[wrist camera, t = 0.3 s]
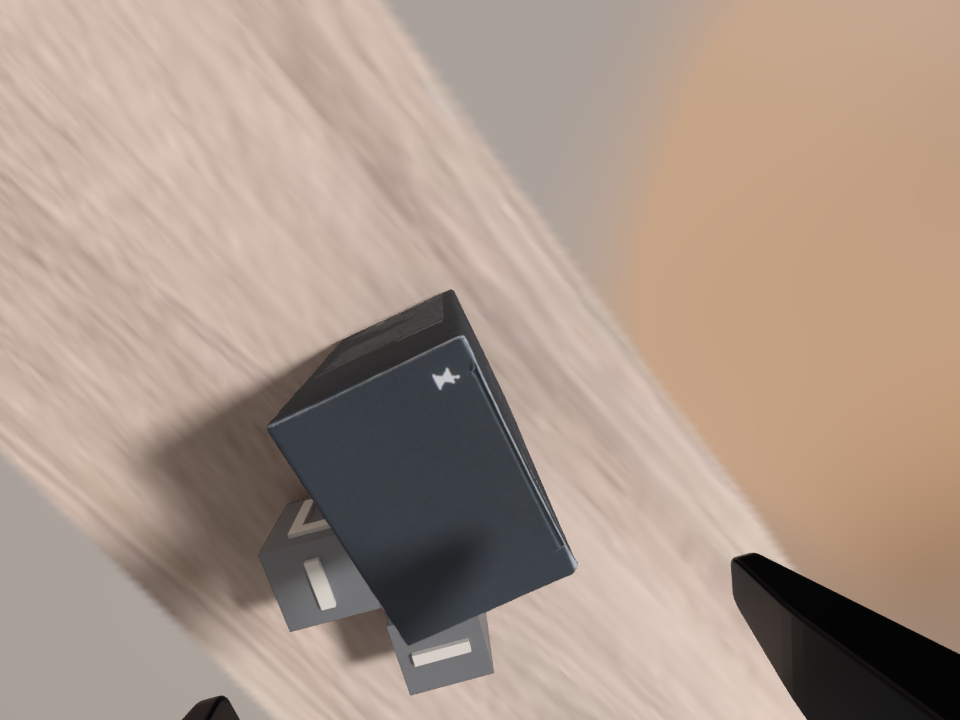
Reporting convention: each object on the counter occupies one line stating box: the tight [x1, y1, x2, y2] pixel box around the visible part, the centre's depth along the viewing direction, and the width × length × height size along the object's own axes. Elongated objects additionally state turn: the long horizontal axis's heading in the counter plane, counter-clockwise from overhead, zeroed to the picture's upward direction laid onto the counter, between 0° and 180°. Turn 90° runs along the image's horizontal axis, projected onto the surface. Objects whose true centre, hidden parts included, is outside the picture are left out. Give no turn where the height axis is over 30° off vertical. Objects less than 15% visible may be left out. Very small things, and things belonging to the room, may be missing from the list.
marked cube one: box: [386, 612, 494, 696], centre depth 24 cm, size 4×4×4 cm
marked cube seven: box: [258, 498, 381, 632], centre depth 22 cm, size 4×4×4 cm
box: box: [267, 290, 578, 646], centre depth 18 cm, size 8×6×11 cm
